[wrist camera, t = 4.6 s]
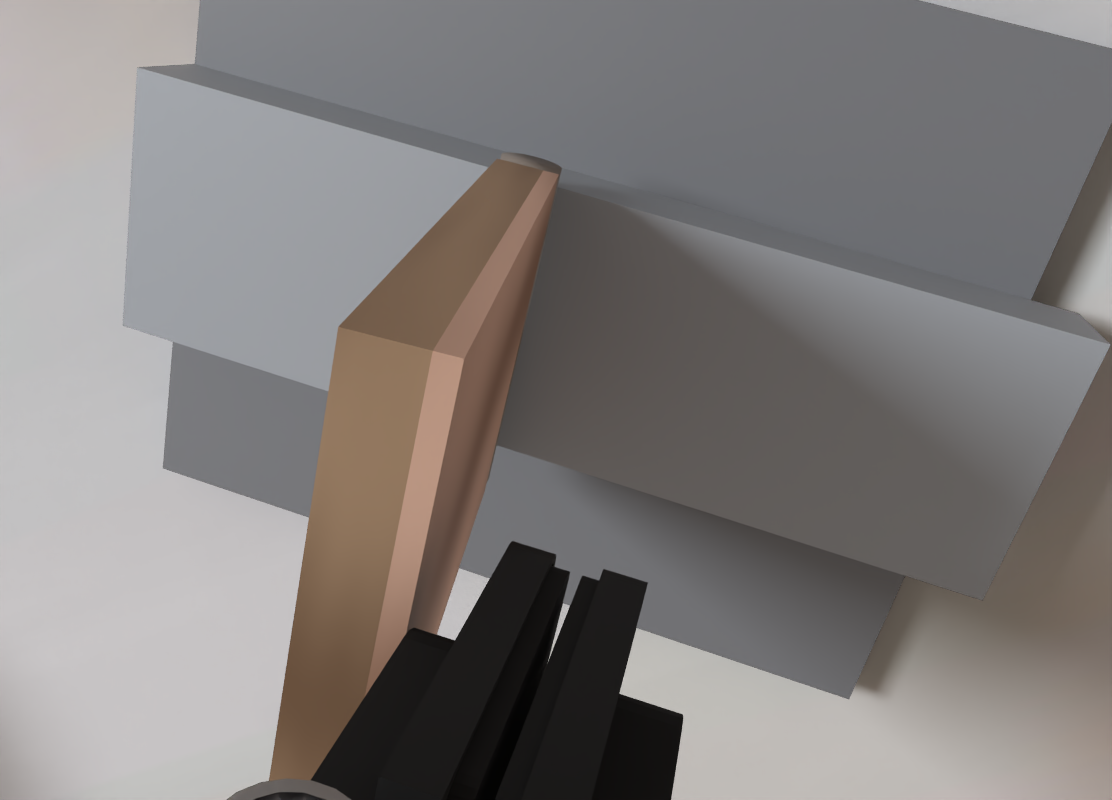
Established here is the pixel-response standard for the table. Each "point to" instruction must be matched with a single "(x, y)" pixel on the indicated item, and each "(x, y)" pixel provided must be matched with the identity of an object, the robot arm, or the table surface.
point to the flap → (408, 448)
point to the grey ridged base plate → (652, 280)
